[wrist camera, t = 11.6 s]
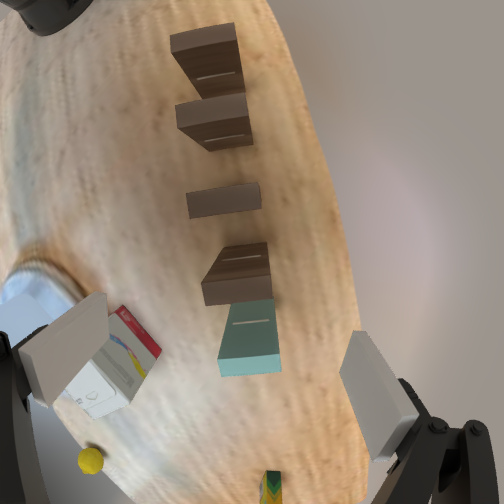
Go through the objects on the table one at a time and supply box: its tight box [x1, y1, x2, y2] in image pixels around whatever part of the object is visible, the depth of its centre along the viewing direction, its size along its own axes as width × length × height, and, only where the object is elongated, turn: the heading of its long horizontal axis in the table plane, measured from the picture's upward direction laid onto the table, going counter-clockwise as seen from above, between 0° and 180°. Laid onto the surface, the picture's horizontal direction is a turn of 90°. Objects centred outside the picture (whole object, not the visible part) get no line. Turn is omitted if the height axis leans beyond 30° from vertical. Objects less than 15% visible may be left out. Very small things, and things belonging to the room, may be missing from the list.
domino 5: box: [217, 297, 282, 377], centre depth 28 cm, size 2×5×13 cm, turn 98°
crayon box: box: [260, 471, 282, 504], centre depth 37 cm, size 7×3×12 cm, turn 171°
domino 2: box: [175, 92, 253, 151], centre depth 24 cm, size 2×5×13 cm, turn 98°
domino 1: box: [170, 22, 246, 99], centre depth 23 cm, size 2×5×13 cm, turn 98°
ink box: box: [64, 306, 161, 420], centre depth 31 cm, size 9×9×12 cm
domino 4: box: [201, 242, 273, 306], centre depth 27 cm, size 2×5×13 cm, turn 98°
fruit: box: [78, 448, 104, 474], centre depth 40 cm, size 6×6×8 cm
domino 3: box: [186, 182, 262, 219], centre depth 26 cm, size 2×5×13 cm, turn 98°
